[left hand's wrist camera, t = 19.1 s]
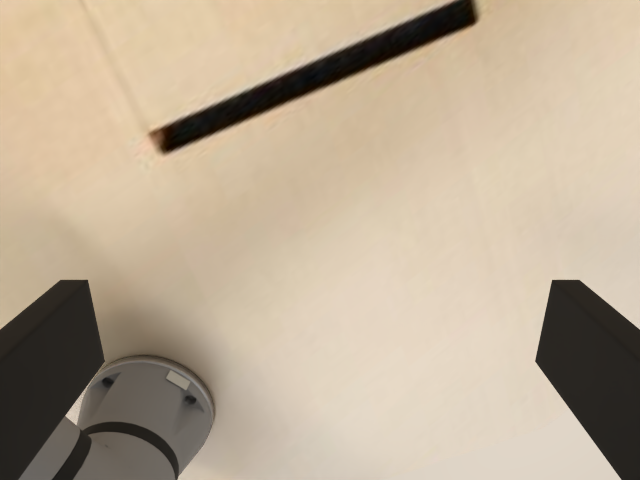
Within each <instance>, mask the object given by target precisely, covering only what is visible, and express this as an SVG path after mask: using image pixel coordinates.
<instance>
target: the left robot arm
mask: <svg viewBox="0 0 640 480" xmlns="http://www.w3.org/2000/svg"><path fill="white" fill-rule="evenodd" d="M104 362H105V360H104V355H103V351H102V346H101V341H100V336H99V331H98V327H97V322H96V317H95V312H94V307H93V303H92V298H91V293H90V288H89V283H88V280H60V281H59V282H58V283H56V284H55V285H54V286H53V287H52V288H50V289H49V290H48V291H47V292H45V293H44V294H43V295H42V296H41V297H39V298H38V299H37V300H36V301H35V302H33V303H32V304H31V305H30V306H28V307H27V308H26V309H25V310H24V311H22V312H21V313H20V314H19V315H18V316H16V317H15V318H14V319H13V320H11V321H10V322H9V323H8V324H7V325H5V326H4V327H3V328H2V329H1V330H0V480H177V479H178V476H179V475H180V474H181V473H182V471H183V470H184V469H185V468H186V466H187V465H188V464H189V463H190V461H191V460H192V459H193V458H194V456H195V455H196V454H197V453H198V451H199V450H200V449H201V447H202V446H203V444H204V443H205V441H206V439H207V437H208V435H209V433H210V429H211V426H212V423H213V419H214V405H213V401H212V398H211V395H210V393H209V391H208V389H207V388H206V386H205V385H204V383H203V382H202V381H201V380H200V379H199V378H198V377H197V376H196V375H195V374H194V373H192V372H191V371H190V370H188V369H187V368H185V367H184V366H182V365H180V364H178V363H176V362H173V361H171V360H168V359H164V358H160V357H155V356H132V357H126V358H122V359H120V360H117V361H115V362H112V363H111V364H109V365H107V366H106V367H105V368H103V369H102V370H101V371H100V372H99V373H98V374H97V376H96V377H95V378H94V380H93V381H92V382H91V384H90V385H89V387H88V389H87V391H86V393H85V395H84V398H83V400H82V404H81V409H80V413H79V418H78V422H77V426H76V425H75V424H74V423H73V422H71V421H70V420H69V419H68V418H67V417H65V415H66V414H67V412H68V411H69V410H70V408H71V407H72V406H73V404H74V403H75V401H76V400H77V399H78V397H79V396H80V395H81V393H82V392H83V390H84V389H85V388H86V386H87V385H88V384H89V382H90V381H91V380H92V378H93V377H94V375H95V374H96V373H97V371H98V370H99V369H100V367H101V366H102V364H103V363H104ZM535 362H536V363H537V364H538V366H539V367H540V369H541V370H542V371H543V373H544V374H545V375H546V377H547V378H548V380H549V381H550V382H551V384H552V385H553V386H554V388H555V389H556V390H557V392H558V393H559V395H560V396H561V397H562V399H563V400H564V401H565V403H566V404H567V406H568V407H569V408H570V410H571V411H572V412H573V414H574V415H575V416H576V418H577V419H578V421H579V422H580V423H581V425H582V426H583V427H584V429H585V430H586V432H587V433H588V434H589V436H590V437H591V438H592V440H593V441H594V443H595V444H596V445H597V447H598V448H599V449H600V451H601V452H602V453H603V455H604V456H605V458H606V459H607V460H608V462H609V463H610V464H611V466H612V467H613V469H614V470H615V471H616V473H617V474H618V475H619V477H620V478H621V480H640V330H639V329H638V328H637V327H636V326H635V325H633V324H632V323H631V322H630V321H629V320H627V319H626V318H625V317H624V316H622V315H621V314H620V313H619V312H618V311H616V310H615V309H614V308H613V307H612V306H610V305H609V304H608V303H607V302H605V301H604V300H603V299H602V298H601V297H599V296H598V295H597V294H596V293H595V292H593V291H592V290H591V289H590V288H588V287H587V286H586V285H585V284H584V283H582V282H581V281H580V280H552V283H551V288H550V293H549V298H548V303H547V307H546V312H545V317H544V322H543V327H542V331H541V336H540V341H539V346H538V351H537V355H536V360H535Z"/></svg>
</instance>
